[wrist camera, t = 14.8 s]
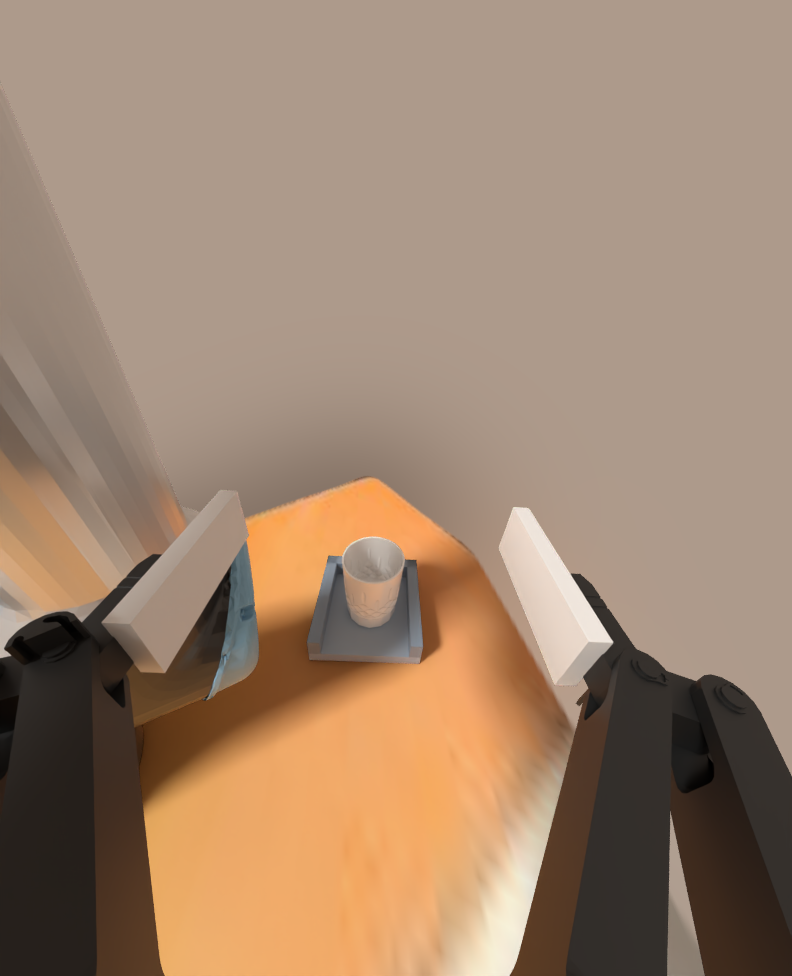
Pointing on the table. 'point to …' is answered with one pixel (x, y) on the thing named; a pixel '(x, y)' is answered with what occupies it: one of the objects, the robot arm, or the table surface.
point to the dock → (352, 642)
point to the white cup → (372, 579)
